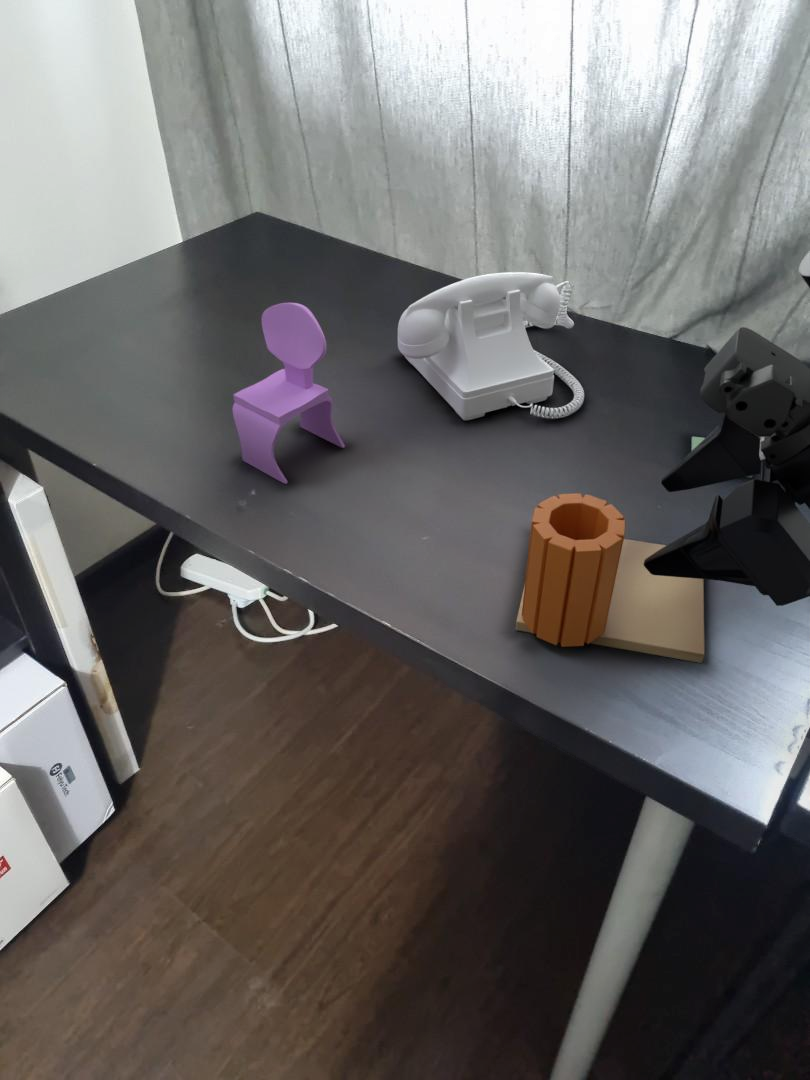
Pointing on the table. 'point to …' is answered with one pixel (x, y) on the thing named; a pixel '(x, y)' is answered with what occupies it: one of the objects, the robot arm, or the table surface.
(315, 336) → the toy chair
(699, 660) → the ring board
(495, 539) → the table surface
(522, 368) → the telephone
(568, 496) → the pen holder
